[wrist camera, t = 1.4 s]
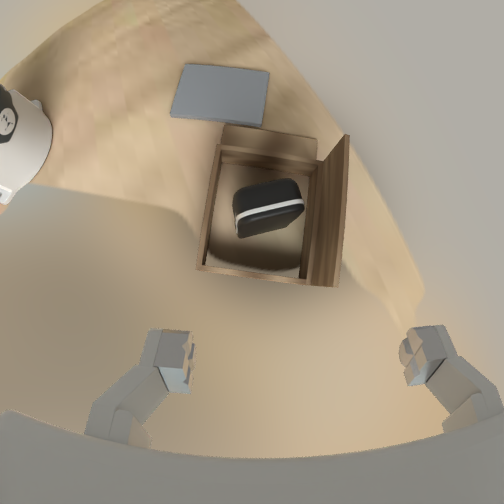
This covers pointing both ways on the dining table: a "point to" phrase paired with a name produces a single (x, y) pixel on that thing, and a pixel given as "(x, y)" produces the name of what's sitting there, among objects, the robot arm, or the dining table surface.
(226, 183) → the dining table surface
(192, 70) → the mat
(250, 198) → the battery charger
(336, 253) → the wooden box
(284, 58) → the dining table surface
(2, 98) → the robot arm
